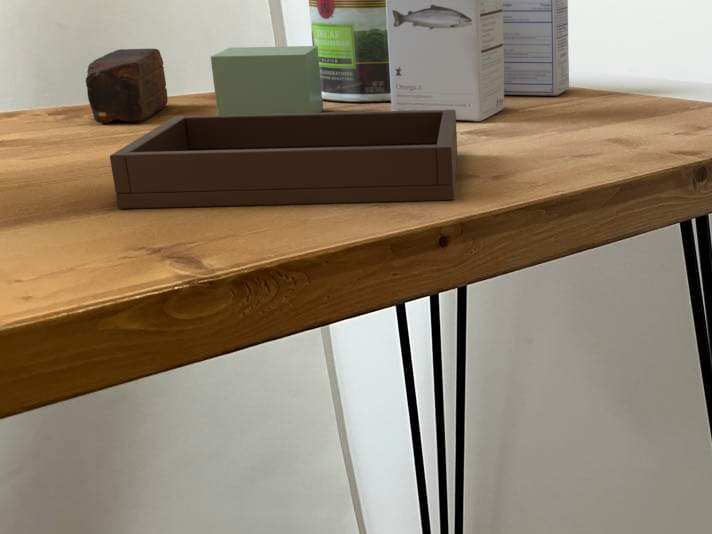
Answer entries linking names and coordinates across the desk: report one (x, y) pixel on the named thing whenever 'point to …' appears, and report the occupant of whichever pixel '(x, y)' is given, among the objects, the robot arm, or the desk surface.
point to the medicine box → (535, 47)
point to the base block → (267, 80)
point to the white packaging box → (446, 56)
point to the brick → (126, 85)
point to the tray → (290, 159)
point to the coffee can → (352, 49)
